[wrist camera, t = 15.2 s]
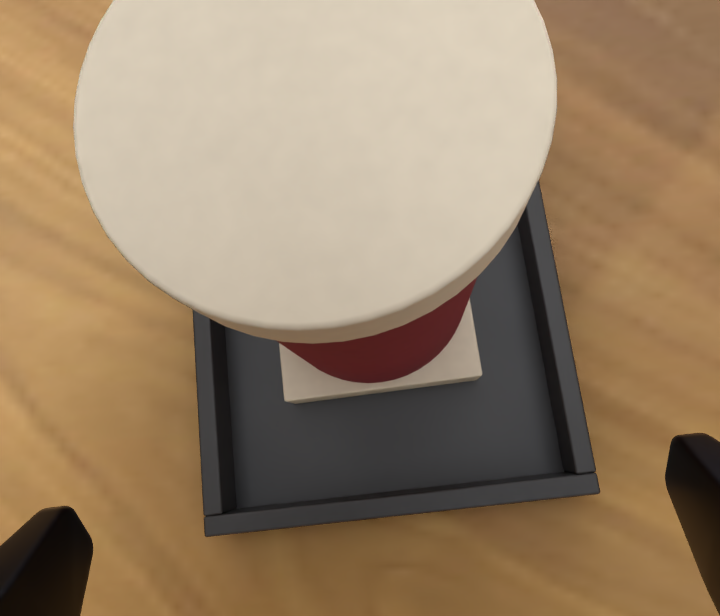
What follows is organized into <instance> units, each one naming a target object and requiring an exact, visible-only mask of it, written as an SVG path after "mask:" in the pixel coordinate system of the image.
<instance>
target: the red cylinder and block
mask: <svg viewBox="0 0 720 616" xmlns="http://www.w3.org/2000/svg"><path fill="white" fill-rule="evenodd" d="M556 113H557V76H556V70H555V63H554V56H553V50H552V47H551V43H550V40H549V37H548V33H547V30H546V27H545V24H544V21H543V18H542V16H541V14H540V12H539V10H538V8H537V6H536V4H535V2H534V0H113V2H112V4H111V5H110V7H109V8H108V10H107V11H106V13H105V15H104V16H103V18H102V19H101V21H100V23H99V25H98V27H97V30H96V32H95V34H94V36H93V38H92V40H91V42H90V44H89V47H88V50H87V53H86V56H85V59H84V62H83V65H82V68H81V71H80V75H79V81H78V86H77V91H76V96H75V106H74V125H73V129H74V140H75V152H76V158H77V163H78V167H79V171H80V176H81V180H82V184H83V187H84V189H85V192H86V194H87V197H88V200H89V202H90V205H91V207H92V210H93V212H94V214H95V216H96V217H97V219H98V221H99V223H100V224H101V226H102V228H103V229H104V231H105V233H106V235H107V236H108V238H109V239H110V240H111V242H112V243H113V244H114V245H115V247H116V248H117V249H118V250H119V252H120V253H121V254H122V256H123V257H124V258H125V259H126V260H127V261H128V262H129V263H130V264H131V265H132V266H133V267H134V268H135V269H136V270H137V271H138V272H139V273H140V274H141V275H143V276H144V277H145V278H146V279H147V280H148V281H149V282H151V283H152V284H153V285H155V286H156V287H158V288H159V289H161V290H162V291H164V292H165V293H166V294H168V295H169V296H171V297H172V298H174V299H175V300H177V301H179V302H181V303H182V304H184V305H186V306H188V307H189V308H191V309H193V310H195V311H196V312H198V313H200V314H202V315H204V316H206V317H208V318H210V319H212V320H214V321H216V322H218V323H220V324H222V325H224V326H226V327H228V328H231V329H234V330H237V331H240V332H243V333H246V334H249V335H252V336H256V337H261V338H266V339H271V340H276V341H277V342H279V349H280V360H281V371H282V381H283V392H284V400H285V401H286V402H290V403H293V404H298V403H306V402H314V401H321V400H329V399H337V398H344V397H352V396H360V395H367V394H375V393H383V392H390V391H398V390H405V389H413V388H421V387H428V386H436V385H444V384H451V383H459V382H467V381H474V380H477V379H479V378H480V377H481V376H482V369H481V363H480V357H479V351H478V345H477V339H476V333H475V327H474V321H473V315H472V309H471V303H470V295H471V293H472V290H473V287H474V285H475V282H476V279H477V277H478V276H479V275H480V274H481V273H482V271H483V270H484V269H485V268H486V267H487V266H488V265H489V263H490V262H491V261H492V260H493V259H494V258H495V257H496V255H497V254H498V253H499V252H500V251H501V249H502V248H503V246H504V245H505V243H506V242H507V240H508V238H509V237H510V235H511V234H512V232H513V231H514V229H515V228H516V226H517V224H518V222H519V220H520V218H521V216H522V214H523V211H524V209H525V207H526V205H527V203H528V201H529V199H530V197H531V195H532V192H533V190H534V188H535V186H536V184H537V182H538V180H539V178H540V176H541V173H542V171H543V168H544V165H545V162H546V159H547V156H548V152H549V149H550V146H551V143H552V138H553V132H554V125H555V119H556Z"/></svg>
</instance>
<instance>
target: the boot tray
mask: <svg viewBox="0 0 720 616" xmlns="http://www.w3.org/2000/svg"><path fill="white" fill-rule="evenodd" d="M470 303H471V309H472V315H473V321H474V327H475V333H476V339H477V345H478V351H479V357H480V363H481V369H482V376H481V377H480V378H479V379H477V380H474V381H467V382H459V383H451V384H444V385H436V386H428V387H421V388H413V389H405V390H398V391H390V392H383V393H375V394H367V395H360V396H352V397H344V398H337V399H329V400H321V401H314V402H306V403H298V404H293V403H290V402H286V401H285V400H284V392H283V381H282V371H281V360H280V349H279V342H277V341H276V340H271V339H266V338H261V337H256V336H252V335H249V334H246V333H243V332H240V331H237V330H234V329H231V328H228V327H226V326H224V325H222V324H220V323H218V322H216V321H214V320H212V319H210V318H208V317H206V316H204V315H202V314H200V313H198V312H196V311H195V310H193V326H194V345H195V363H196V382H197V400H198V419H199V438H200V456H201V475H202V494H203V512H204V516H205V517H204V530H205V536H206V537H211V536H220V535H229V534H238V533H248V532H257V531H266V530H275V529H284V528H293V527H302V526H311V525H320V524H330V523H339V522H348V521H357V520H366V519H375V518H384V517H393V516H402V515H411V514H421V513H430V512H439V511H448V510H457V509H466V508H475V507H484V506H493V505H502V504H512V503H521V502H530V501H539V500H548V499H557V498H566V497H575V496H584V495H593V494H599V493H600V488H599V483H598V478H597V474H596V473H594V472H595V471H596V468H595V463H594V458H593V453H592V448H591V442H590V437H589V432H588V427H587V422H586V417H585V412H584V407H583V402H582V397H581V392H580V387H579V382H578V377H577V372H576V367H575V361H574V356H573V351H572V346H571V341H570V336H569V331H568V326H567V321H566V316H565V311H564V306H563V301H562V296H561V291H560V286H559V280H558V275H557V270H556V265H555V260H554V255H553V250H552V245H551V240H550V235H549V230H548V225H547V220H546V215H545V210H544V205H543V199H542V194H541V189H540V184H539V180H538V182H537V184H536V186H535V188H534V190H533V192H532V195H531V197H530V199H529V201H528V203H527V205H526V207H525V209H524V211H523V214H522V216H521V218H520V220H519V222H518V224H517V226H516V228H515V229H514V231H513V232H512V234H511V235H510V237H509V238H508V240H507V242H506V243H505V245H504V246H503V248H502V249H501V251H500V252H499V253H498V254H497V255H496V257H495V258H494V259H493V260H492V261H491V262H490V263H489V265H488V266H487V267H486V268H485V269H484V270H483V271H482V273H481V274H480V275H479V276H478V277H477V279H476V282H475V285H474V287H473V290H472V293H471V295H470Z"/></svg>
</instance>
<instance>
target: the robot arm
mask: <svg viewBox="0 0 720 616" xmlns="http://www.w3.org/2000/svg"><path fill="white" fill-rule="evenodd" d="M665 481H666V486H667V490H668V493H669V495H670V498H671V500H672V503H673V505H674V508H675V510H676V513H677V515H678V518H679V520H680V523H681V526H682V528H683V531H684V533H685V536H686V538H687V541H688V543H689V546H690V548H691V551H692V553H693V556H694V558H695V561H696V563H697V566H698V568H699V571H700V573H701V576H702V578H703V581H704V583H705V585H706V588H707V590H708V593H709V595H710V597H711V599H712V601H713V603H714V605H715V607H716V609H717V611H718V613H719V615H720V442H719V441H717V440H716V439H714V438H713V437H711V436H709V435H707V434H704V433H693V434H684V435H677V436H675V437H674V438H673V439H672V442H671V445H670V451H669V456H668V462H667V467H666V473H665ZM92 555H93V543H92V539H91V537H90V535H89V533H88V532H87V530H86V529H85V527H84V525H83V524H82V522H81V520H80V519H79V517H78V515H77V514H76V512H75V511H74V509H72V508H71V507H69V506H60V507H51V508H45V509H42V510H40V511H39V512H38V513H36V514H35V515H34V516H33V517H32V518H31V519H30V520H29V521H27V522H26V523H25V524H24V525H23V526H22V527H21V528H20V529H19V530H18V531H16V532H15V533H14V534H13V535H12V536H11V537H10V538H9V539H8V540H7V541H5V542H4V543H3V544H2V545H1V546H0V616H80V614H81V609H82V604H83V599H84V594H85V589H86V585H87V580H88V575H89V570H90V565H91V560H92Z"/></svg>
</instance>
